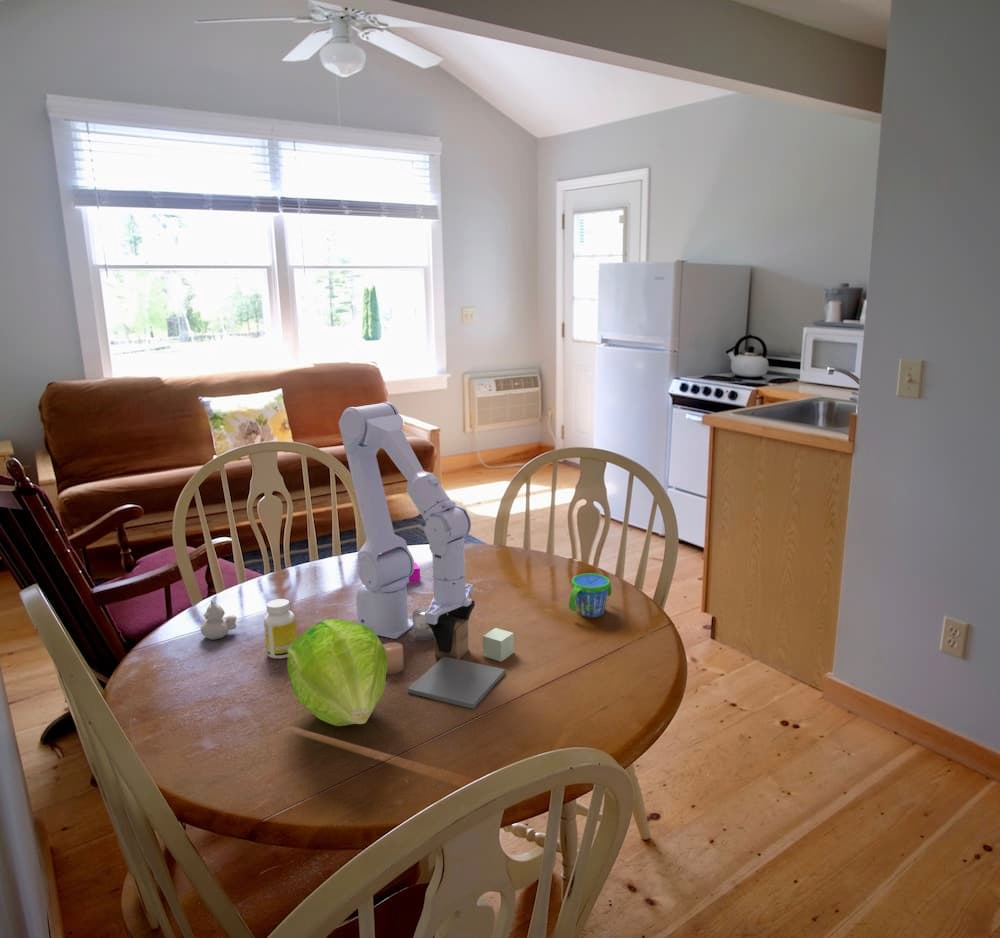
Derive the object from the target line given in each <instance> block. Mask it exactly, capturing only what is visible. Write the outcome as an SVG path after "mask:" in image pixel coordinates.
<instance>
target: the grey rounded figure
mask: <svg viewBox="0 0 1000 938" xmlns="http://www.w3.org/2000/svg"><path fill="white" fill-rule="evenodd" d="M224 615H226V612H225V610H224V608H223V607H222V606H221V605H220V604H217V603H216V602H215V601H213V600H212V599H210V604H209V605H208V606H207V608H206V611H205V612H204V613H203V615H202V616H203V617H204V618H205V621H204V622H203V624H202V625H201V626H200V633H201V634H202V636H204V637H205V638H206V639H208V640H211V641H213V640H219V639H223V638H224V637H225V636H226V635H227V634H228V633H229V631H231V630H235V629H236V628H237V624H236V621H237V616H236V615H235V614H234V615H227V616H226V617H225V616H224Z"/></svg>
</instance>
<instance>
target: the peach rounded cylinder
mask: <svg viewBox="0 0 1000 938" xmlns="http://www.w3.org/2000/svg"><path fill="white" fill-rule="evenodd" d="M382 644H383V643H382ZM383 646H384V648H385V653H386V659H387V672H386V675H395V674H399V673H401V672H402V671H403V670H404V669H405V667H404V666H405V665H404V664H405V663H404V649H403V648H404V646H403V644H401V643H400V642H397V641H396V642H395V641H393V642H392V641H391V642H386V643H384V644H383Z"/></svg>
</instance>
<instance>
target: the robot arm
mask: <svg viewBox="0 0 1000 938" xmlns="http://www.w3.org/2000/svg"><path fill="white" fill-rule="evenodd" d="M338 427H339V431H340V435H341V436H340V437H341V438H342V439H341V441H342V444H343V448H344V452H345V455H346V459H347V462H348V467H349V471H350V472H349V473H350V476H351V479H352V480H351V481H352V483H353V488H354V492H355V496H356V502H357V505H358V508H359V513H360V518H361V521H362V522H361V523H362V527H363V530H364V531H363V532H364V535H365V538H366V539H365V543H364V544H363V545H361V546H362V547H361V548H360V550H359V551H358V553H357V560H358V577H359V579H360V582H361V583H362V584H361V585H360V586H359V588H358V591H357V593H356V616H357V623H359V624H362V625H365V626H367V627H369V628H371V629H372V630H373V631H374V633H375V634H376V635H377V637H378V636H379V637H384V638H390V639H393V640H396V639H398V638H400V637H401V636H403V635H404V634H405V633H406V632H407V631H409V630H410V629H412V628H413V619H410V618H409V612H408V611H409V610H408V592H407V591H408V590H407V583H408V582H409V576H411V575H412V574H413V572H414V563H415V561H414V557H413V555H412V553H411V551H410V549H409V547H408V544H407V541H406V539H404V538H402V537H401V536H399V535H397V534H395V531H394V527H393V526H394V525H393V522H392V518H391V515H390V514H391V513H390V510H389V506H388V502H387V497H386V493H385V492H386V491H385V488H384V483H383V480H382V476H381V472H380V467H379V463H378V458H377V454H378V452H379V451H380V449H383V450H384V451H385V453H386V454H387V456H389V458H390V460H391V461H392V462H393V463H394V465H395V466H396V467H397V469H398V470H399V471H400V473H401V474H402V476H404V478H405V479H406V481H407V484H406V485H407V486H406V493H407V494H408V496H409V497H410V499H411V501H412V503H413V504H414V506H415V508H416V509H417V511H418V512H419V514H420V516H421V517H422V519H423V520H424V521H425V525H424V526H423V532H424V535H425V537H426V538H427V541H428V544H429V550H430V552H431V553H430V554H431V555H432V577H433V579H432V580H433V582H432V583H433V597H432V600H431V602H430V605H429V607H428V608H429V609H428V610H427V611H426V612H425V623H427V624H428V625H429V626H430V628H431V630H432V632H433V634H434V636H435V639H436V642H437V645H438V649H439V651H442V652H446V653H449V652H450V651H451V648H452V637H453V630H454V627H455V624H456V621H457V618H460V619H465V620H468V621H469V619H470V616H471V613H472V611H473V609H475V607H476V606H475V605H476V604H475V603H476V602H475V601H474V600H472V599H471V598H469V597H471V596H473V595H474V584H471V583H467V582H466V557H465V556H466V553H465V550H466V549H465V547H466V546H465V537H466V536H467V535H469V534H470V533H471V532H470V531H471V528H472V521H471V518H470V515H469V513H468V511H467V509H466V508H464V507H463V506H461V505H458V504H457V503H456V501H454V500H451V498H450V497H449V496H448V494H447V492H446V491H445V489H444V488H443V486H442V484H440V481H439V479H438V476H435V474H434V473H432V472H428V471H425V470H424V469H423V466H422V465H421V463H420V461H419V459H418V457H417V455H416V453H415V451H414V450H413V448H412V446H411V444H410V442H409V441H408V438H407V436H406V435H405V433H404V431H403V427H404V420H403V417H402V416H401V415H400V413H399V411H398V409H397V408H396V406H395V404H393V403H391V402H389V401H382V402H380V403H373V404H368V405H367V404H366V405H360V406H356V407H355V406H350V407H347V408H346V409H344V410H343V412H342V414H341V416H340V419H339V420H338ZM388 550H390V551H388ZM385 551H387V552H385ZM382 552H384V553H382ZM381 553H382V554H381ZM408 584H409V583H408ZM452 617H454V618H452Z"/></svg>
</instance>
